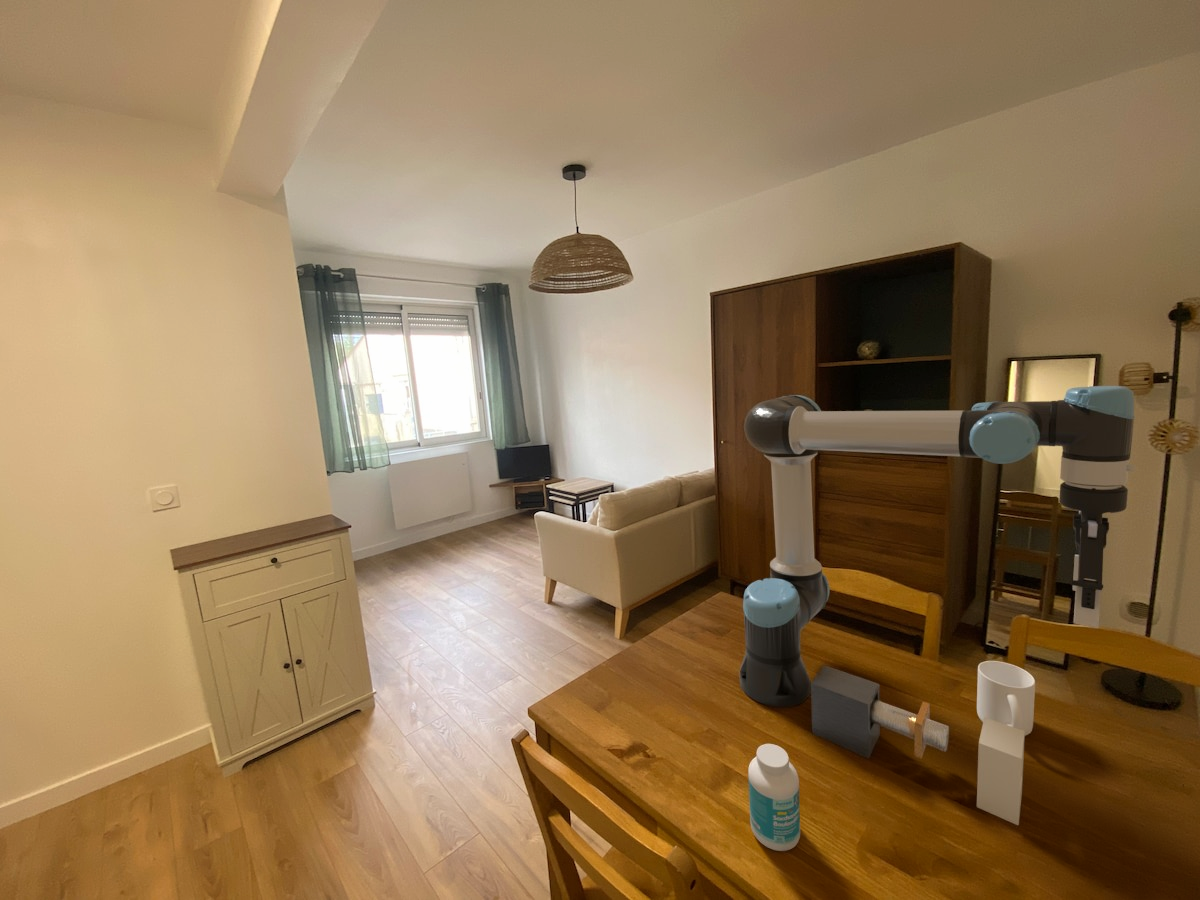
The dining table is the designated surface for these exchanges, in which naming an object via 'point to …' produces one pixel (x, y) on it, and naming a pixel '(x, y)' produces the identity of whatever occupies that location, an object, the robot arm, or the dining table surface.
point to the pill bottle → (774, 798)
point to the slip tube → (911, 725)
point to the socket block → (1000, 770)
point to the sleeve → (844, 710)
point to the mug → (1006, 695)
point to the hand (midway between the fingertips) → (1084, 607)
